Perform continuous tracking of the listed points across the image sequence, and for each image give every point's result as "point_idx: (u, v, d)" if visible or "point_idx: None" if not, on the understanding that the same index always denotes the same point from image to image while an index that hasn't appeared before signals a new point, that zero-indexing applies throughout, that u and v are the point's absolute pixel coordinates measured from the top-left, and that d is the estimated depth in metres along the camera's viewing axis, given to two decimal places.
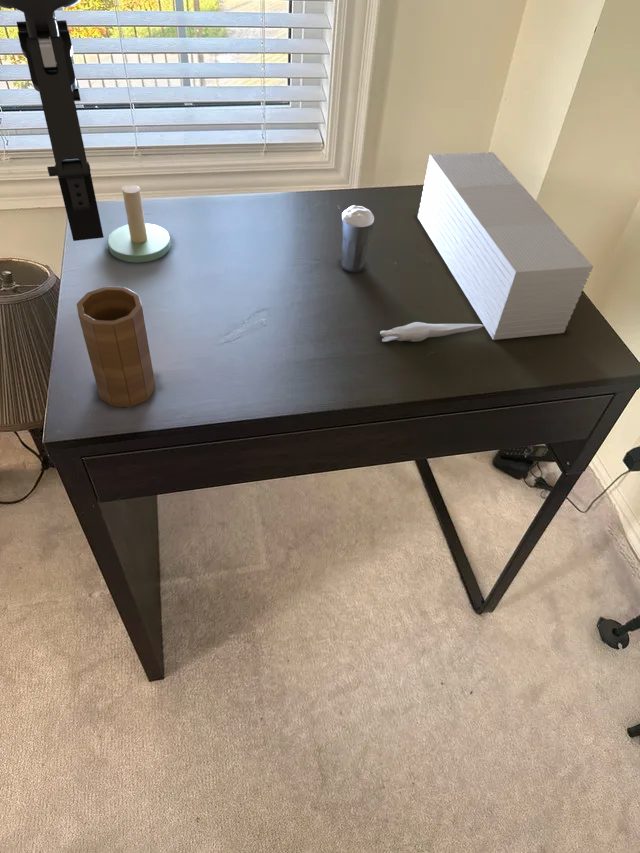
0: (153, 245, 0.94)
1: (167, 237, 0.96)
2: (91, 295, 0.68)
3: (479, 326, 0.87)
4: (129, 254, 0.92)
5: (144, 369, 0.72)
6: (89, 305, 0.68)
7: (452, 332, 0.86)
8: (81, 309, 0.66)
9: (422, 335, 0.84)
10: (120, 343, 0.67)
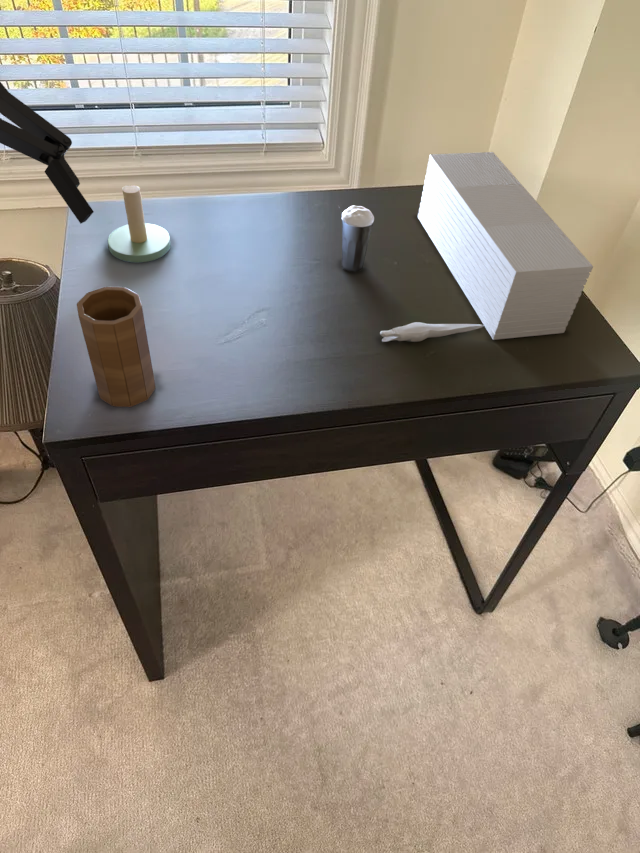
0: (153, 245, 0.94)
1: (167, 237, 0.96)
2: (91, 295, 0.68)
3: (479, 326, 0.87)
4: (129, 254, 0.92)
5: (144, 369, 0.72)
6: (89, 305, 0.68)
7: (452, 332, 0.86)
8: (81, 309, 0.66)
9: (422, 335, 0.84)
10: (120, 343, 0.67)
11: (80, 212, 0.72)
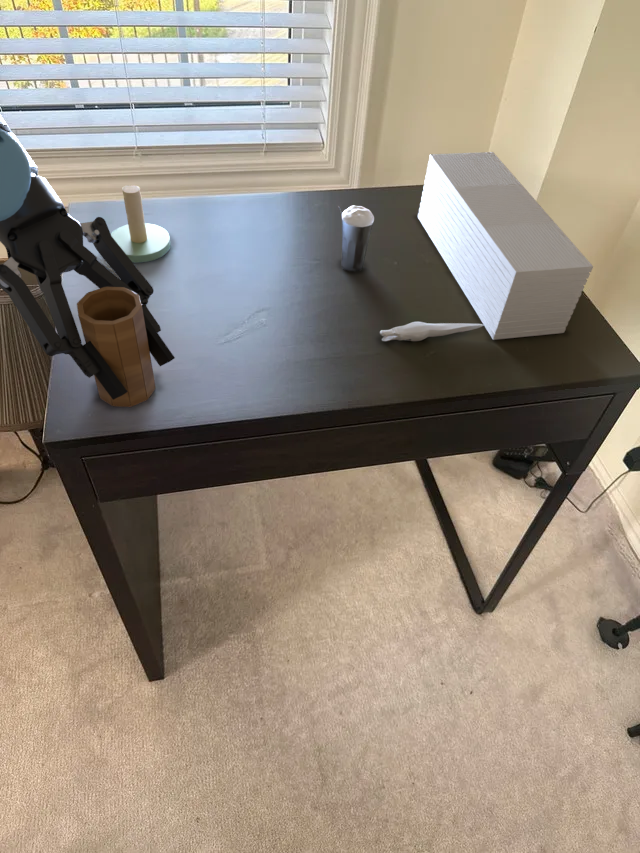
0: (153, 245, 0.94)
1: (167, 237, 0.96)
2: (91, 295, 0.68)
3: (479, 326, 0.87)
4: (129, 254, 0.92)
5: (144, 369, 0.72)
6: (89, 305, 0.68)
7: (452, 332, 0.86)
8: (81, 309, 0.66)
9: (422, 335, 0.84)
10: (120, 343, 0.67)
11: (161, 358, 0.73)
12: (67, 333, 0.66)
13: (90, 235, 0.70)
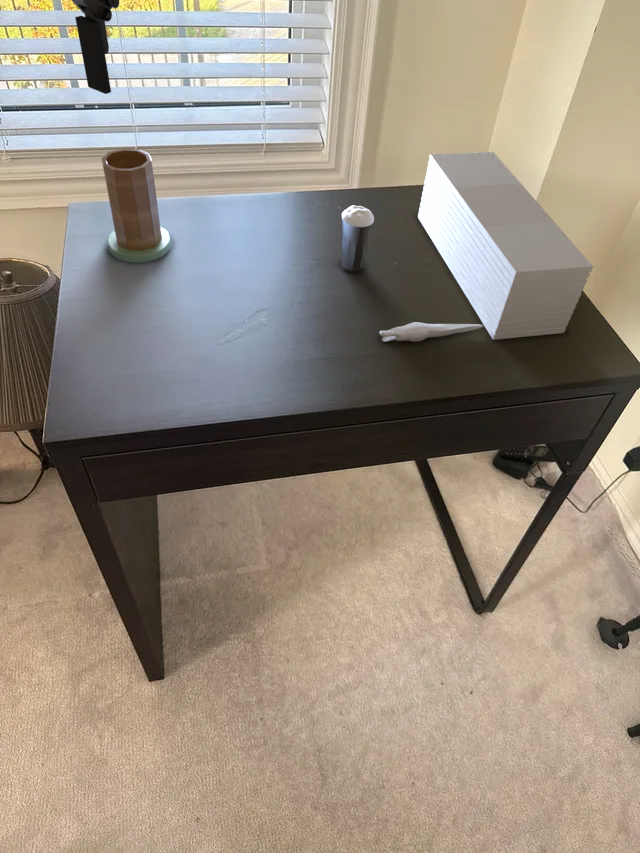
0: None
1: (167, 237, 0.96)
2: (112, 154, 0.88)
3: (478, 326, 0.87)
4: (129, 254, 0.92)
5: (153, 217, 0.91)
6: (110, 161, 0.88)
7: (451, 332, 0.86)
8: (105, 161, 0.86)
9: (422, 335, 0.84)
10: (134, 189, 0.86)
11: (96, 82, 0.67)
12: None
13: None
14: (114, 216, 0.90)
